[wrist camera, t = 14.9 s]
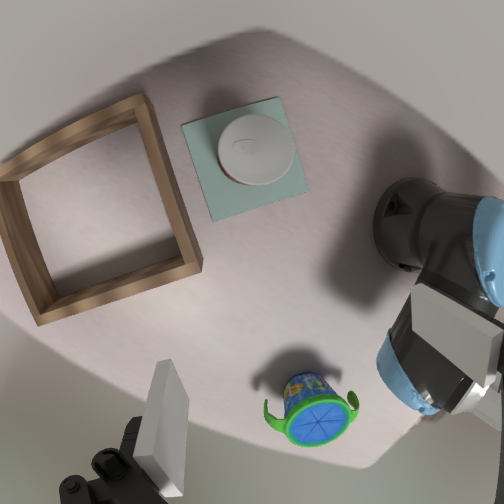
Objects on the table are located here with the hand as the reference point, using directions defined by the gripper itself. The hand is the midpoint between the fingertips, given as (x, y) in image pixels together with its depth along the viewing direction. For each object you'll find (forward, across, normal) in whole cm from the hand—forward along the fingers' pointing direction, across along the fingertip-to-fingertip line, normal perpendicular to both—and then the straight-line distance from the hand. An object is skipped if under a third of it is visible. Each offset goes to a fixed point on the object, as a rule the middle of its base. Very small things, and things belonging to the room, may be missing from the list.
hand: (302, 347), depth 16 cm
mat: (+30, -3, -11) cm, 33 cm away
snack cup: (+31, -3, +28) cm, 42 cm away
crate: (+30, +20, -10) cm, 38 cm away
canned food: (+30, -3, -11) cm, 32 cm away
